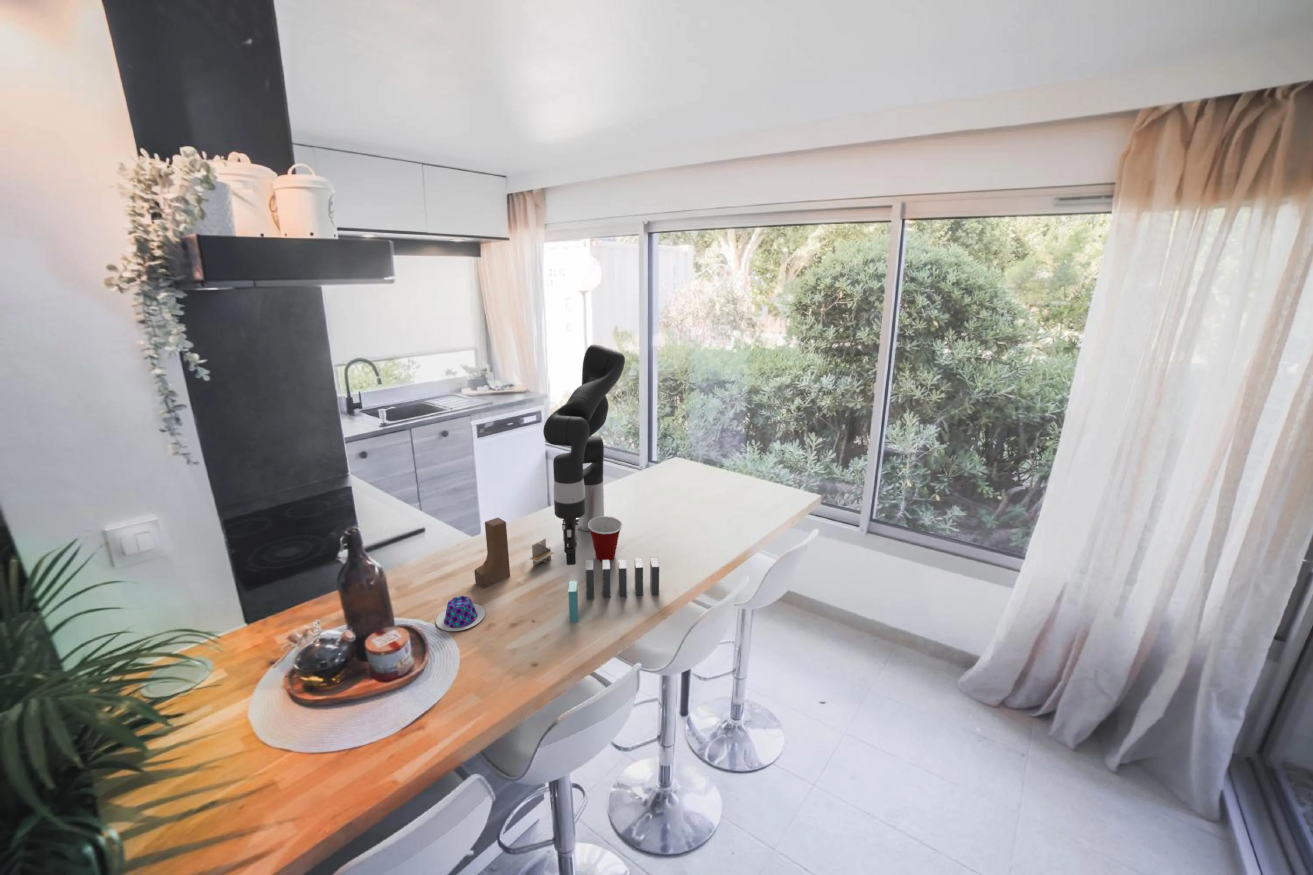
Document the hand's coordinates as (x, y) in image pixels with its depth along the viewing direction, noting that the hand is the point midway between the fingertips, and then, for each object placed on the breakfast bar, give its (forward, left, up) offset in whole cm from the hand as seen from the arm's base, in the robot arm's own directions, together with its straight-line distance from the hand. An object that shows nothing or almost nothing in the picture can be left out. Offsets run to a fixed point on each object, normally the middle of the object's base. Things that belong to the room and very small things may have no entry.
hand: (571, 555), depth 135 cm
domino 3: (-4, +13, -18) cm, 22 cm away
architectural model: (-30, +7, -18) cm, 36 cm away
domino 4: (-1, +17, -18) cm, 24 cm away
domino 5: (+1, +20, -18) cm, 27 cm away
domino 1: (0, 0, -18) cm, 18 cm away
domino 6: (+4, +24, -18) cm, 30 cm away
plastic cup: (-20, +24, -18) cm, 36 cm away
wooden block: (-30, -9, -18) cm, 36 cm away
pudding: (-18, -23, -18) cm, 34 cm away
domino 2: (-6, +9, -18) cm, 21 cm away
